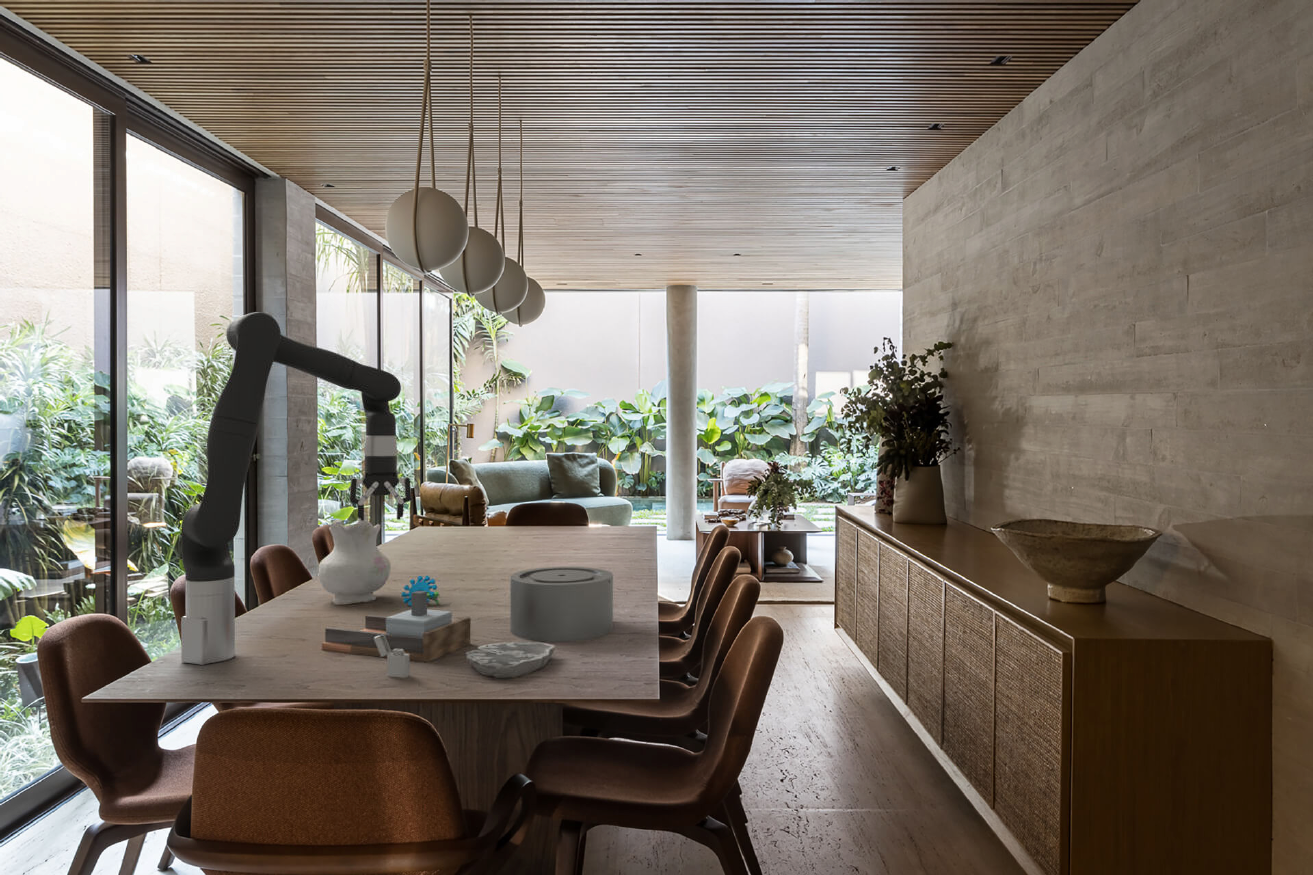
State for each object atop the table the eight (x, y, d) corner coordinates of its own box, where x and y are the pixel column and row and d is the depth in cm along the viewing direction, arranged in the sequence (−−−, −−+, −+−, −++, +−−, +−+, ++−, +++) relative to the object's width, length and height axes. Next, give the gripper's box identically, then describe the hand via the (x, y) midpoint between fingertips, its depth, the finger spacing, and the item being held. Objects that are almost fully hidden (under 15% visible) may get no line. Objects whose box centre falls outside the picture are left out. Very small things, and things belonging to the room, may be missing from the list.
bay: (427, 662, 170) (427, 633, 170) (322, 649, 180) (321, 622, 180) (470, 643, 185) (470, 617, 185) (371, 632, 195) (371, 607, 195)
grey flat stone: (498, 651, 180) (498, 637, 180) (566, 658, 174) (566, 645, 174) (444, 675, 162) (444, 660, 162) (518, 685, 156) (518, 669, 156)
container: (588, 646, 184) (588, 587, 184) (491, 637, 192) (491, 581, 192) (627, 621, 207) (627, 569, 207) (539, 614, 215) (539, 564, 215)
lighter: (410, 675, 161) (409, 635, 161) (405, 677, 160) (405, 637, 159) (378, 672, 163) (378, 632, 163) (373, 675, 161) (373, 635, 161)
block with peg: (424, 649, 174) (424, 598, 174) (385, 644, 178) (385, 594, 178) (451, 638, 184) (451, 589, 183) (414, 634, 187) (414, 586, 187)
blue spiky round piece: (393, 599, 226) (413, 570, 232) (402, 611, 230) (420, 582, 236) (426, 608, 222) (445, 578, 228) (434, 620, 226) (452, 590, 232)
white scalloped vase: (322, 598, 241) (315, 515, 240) (391, 588, 248) (384, 507, 247) (320, 613, 221) (312, 523, 220) (395, 602, 228) (387, 514, 227)
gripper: (350, 454, 194) (350, 522, 194) (412, 454, 199) (412, 520, 199) (349, 454, 201) (349, 519, 201) (409, 453, 206) (409, 517, 206)
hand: (380, 519), depth 200 cm, fingers open, 8 cm apart
